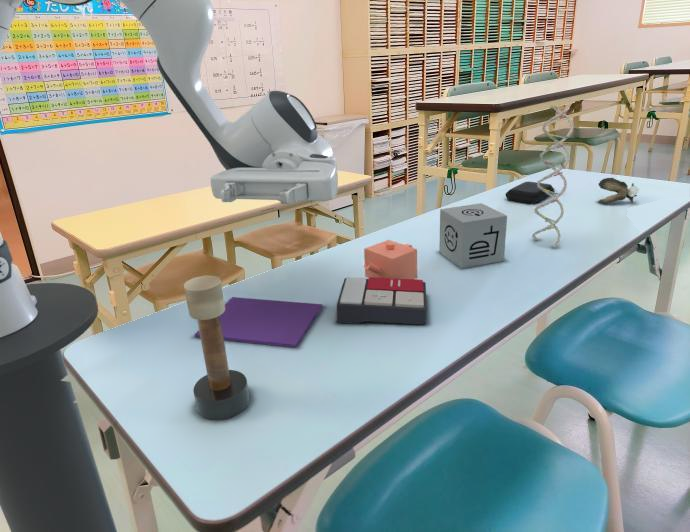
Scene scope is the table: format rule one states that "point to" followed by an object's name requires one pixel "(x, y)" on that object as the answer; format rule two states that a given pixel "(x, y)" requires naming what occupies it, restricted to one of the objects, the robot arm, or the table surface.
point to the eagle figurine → (617, 190)
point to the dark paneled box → (382, 301)
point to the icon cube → (472, 235)
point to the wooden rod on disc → (214, 353)
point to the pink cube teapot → (390, 261)
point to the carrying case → (528, 192)
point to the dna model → (554, 173)
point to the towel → (267, 321)
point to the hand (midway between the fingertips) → (254, 197)
